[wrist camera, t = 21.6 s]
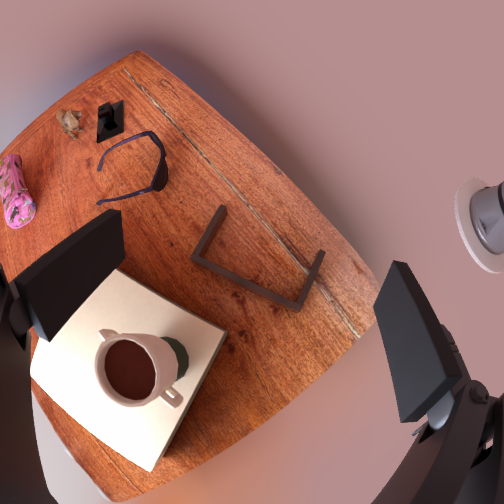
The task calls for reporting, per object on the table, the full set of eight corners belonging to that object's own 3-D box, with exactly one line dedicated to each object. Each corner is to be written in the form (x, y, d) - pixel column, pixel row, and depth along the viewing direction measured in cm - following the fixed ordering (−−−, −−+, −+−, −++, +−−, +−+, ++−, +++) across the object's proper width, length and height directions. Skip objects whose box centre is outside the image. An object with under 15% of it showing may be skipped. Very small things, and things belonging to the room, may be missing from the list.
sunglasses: (173, 194, 46) (165, 179, 41) (97, 218, 45) (84, 208, 40) (165, 139, 50) (159, 123, 45) (98, 163, 49) (88, 150, 44)
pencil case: (45, 207, 46) (21, 190, 38) (22, 236, 45) (-3, 222, 36) (27, 161, 51) (10, 145, 42) (7, 185, 49) (-11, 171, 41)
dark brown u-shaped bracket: (322, 256, 43) (325, 251, 40) (296, 313, 40) (299, 312, 38) (222, 210, 45) (220, 203, 43) (193, 262, 43) (189, 258, 40)
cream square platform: (228, 331, 40) (224, 331, 34) (162, 458, 33) (150, 472, 28) (97, 254, 43) (80, 244, 37) (48, 371, 37) (28, 372, 31)
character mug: (125, 349, 33) (70, 354, 21) (154, 313, 35) (107, 302, 22) (183, 403, 31) (148, 437, 19) (215, 367, 33) (194, 387, 20)
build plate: (99, 111, 54) (92, 99, 50) (124, 100, 55) (118, 88, 50) (97, 143, 51) (88, 131, 46) (124, 131, 51) (117, 118, 47)
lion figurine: (95, 128, 52) (79, 104, 43) (80, 144, 51) (63, 122, 42) (68, 117, 54) (53, 97, 46) (55, 131, 53) (39, 112, 44)
